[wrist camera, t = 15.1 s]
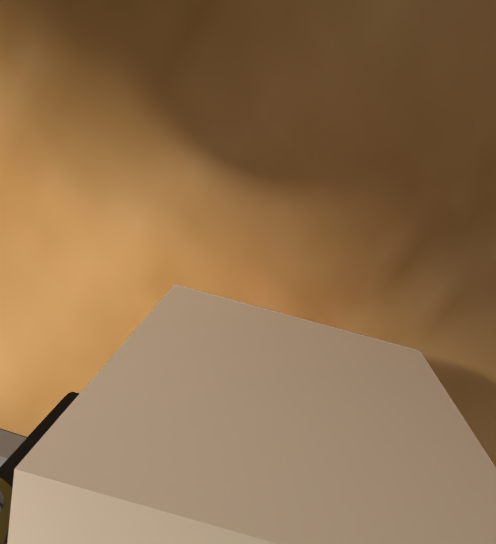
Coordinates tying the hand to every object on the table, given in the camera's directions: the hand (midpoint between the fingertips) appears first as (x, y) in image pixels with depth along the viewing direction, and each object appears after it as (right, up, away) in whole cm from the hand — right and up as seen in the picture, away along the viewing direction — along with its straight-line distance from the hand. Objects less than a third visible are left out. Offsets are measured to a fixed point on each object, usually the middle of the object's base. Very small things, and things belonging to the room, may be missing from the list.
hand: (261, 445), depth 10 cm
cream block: (0, 0, +1) cm, 1 cm away
